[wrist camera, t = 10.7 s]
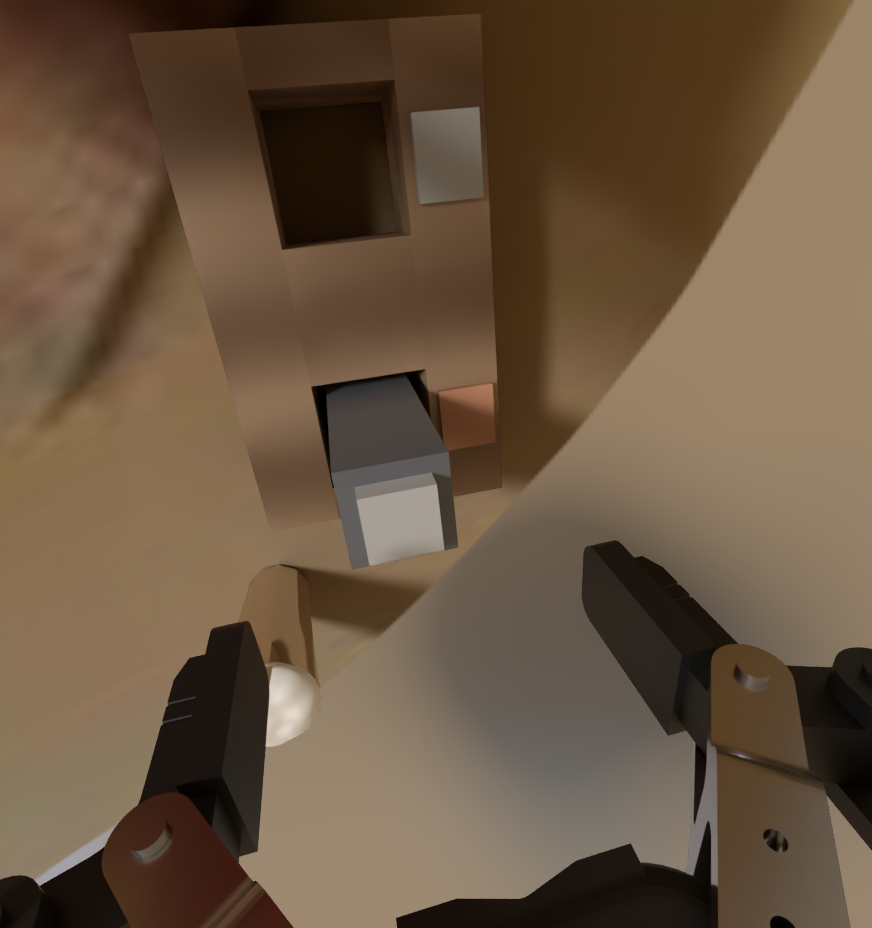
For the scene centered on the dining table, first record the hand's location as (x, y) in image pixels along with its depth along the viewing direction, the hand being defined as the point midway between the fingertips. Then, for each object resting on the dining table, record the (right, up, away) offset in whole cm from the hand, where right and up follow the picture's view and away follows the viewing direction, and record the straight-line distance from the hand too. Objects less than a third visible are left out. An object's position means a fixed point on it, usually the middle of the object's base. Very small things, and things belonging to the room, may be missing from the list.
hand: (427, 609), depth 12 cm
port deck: (-4, +11, +12) cm, 16 cm away
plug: (-3, +7, +14) cm, 16 cm away
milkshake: (-9, -3, +18) cm, 20 cm away
